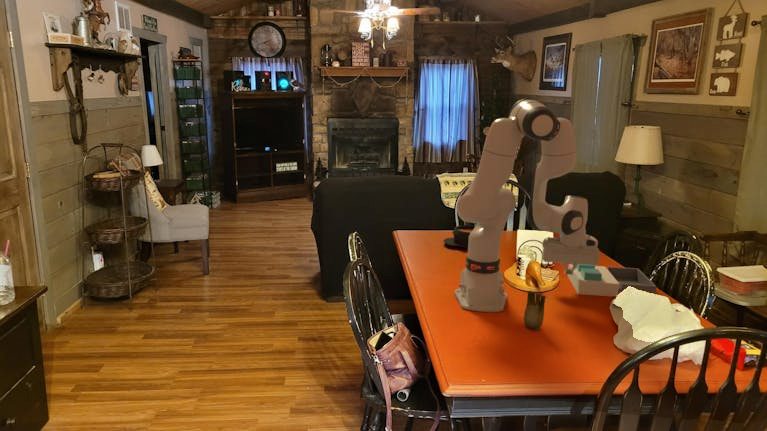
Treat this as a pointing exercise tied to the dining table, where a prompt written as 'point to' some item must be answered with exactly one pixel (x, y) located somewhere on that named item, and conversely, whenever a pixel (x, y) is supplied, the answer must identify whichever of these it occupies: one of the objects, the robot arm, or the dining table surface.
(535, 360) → the dining table surface
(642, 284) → the bin
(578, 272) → the plate
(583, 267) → the tile
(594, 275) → the tile
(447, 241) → the black brimmed hat
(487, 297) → the robot arm
